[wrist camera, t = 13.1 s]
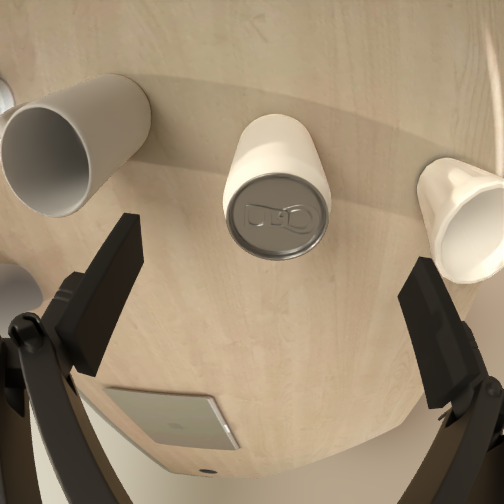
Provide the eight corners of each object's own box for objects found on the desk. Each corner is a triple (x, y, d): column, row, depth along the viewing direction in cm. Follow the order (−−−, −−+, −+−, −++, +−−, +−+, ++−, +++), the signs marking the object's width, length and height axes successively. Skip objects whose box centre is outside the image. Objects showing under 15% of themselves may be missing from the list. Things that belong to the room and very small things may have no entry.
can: (308, 184, 29) (325, 269, 19) (237, 178, 29) (219, 262, 20) (317, 116, 25) (346, 171, 15) (239, 110, 25) (217, 161, 16)
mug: (165, 89, 24) (107, 123, 15) (137, 170, 29) (85, 236, 20) (57, 56, 21) (-26, 82, 13) (41, 134, 26) (-29, 183, 18)
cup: (469, 123, 23) (527, 163, 16) (485, 204, 28) (529, 257, 21) (384, 161, 27) (422, 214, 20) (412, 239, 32) (443, 301, 24)
